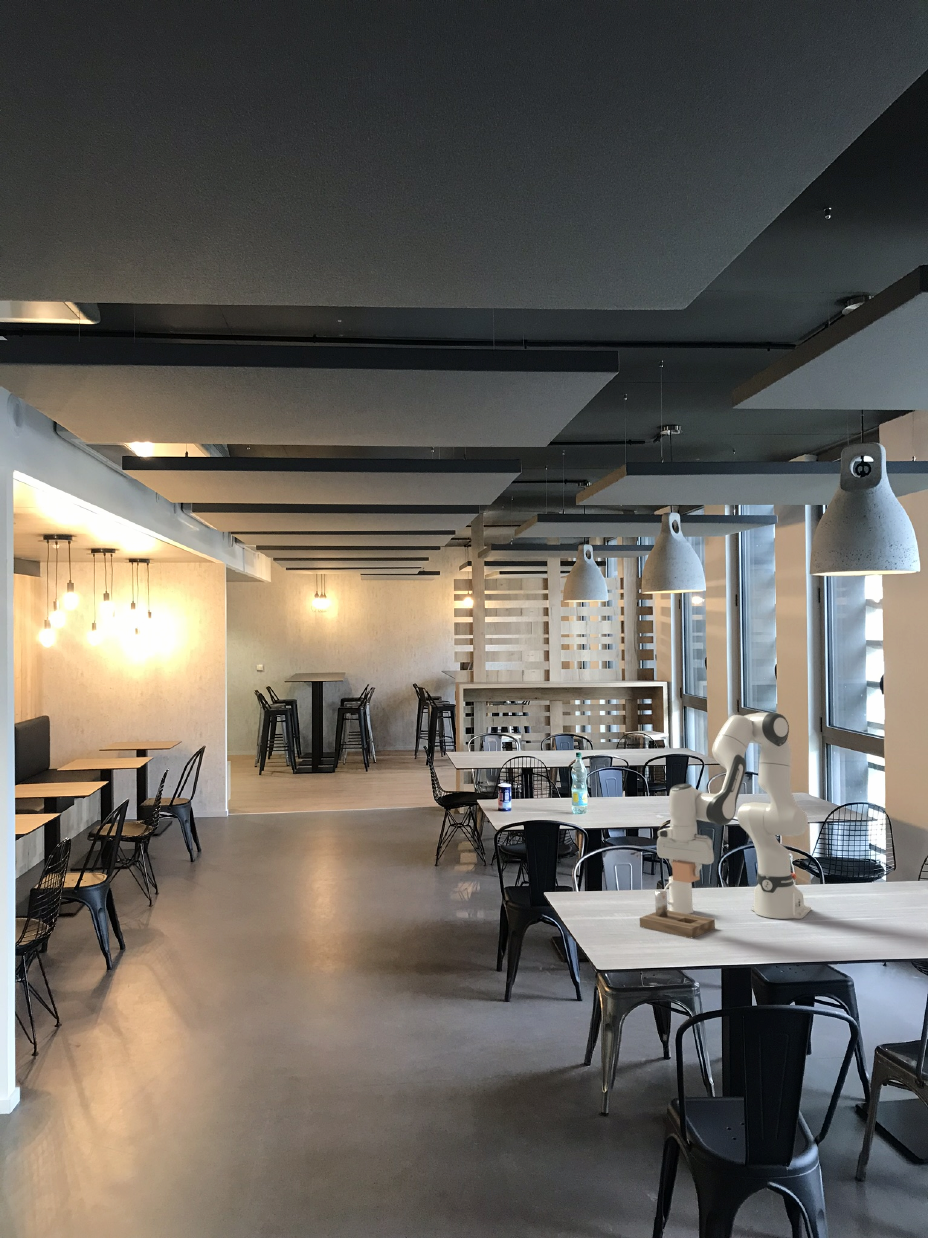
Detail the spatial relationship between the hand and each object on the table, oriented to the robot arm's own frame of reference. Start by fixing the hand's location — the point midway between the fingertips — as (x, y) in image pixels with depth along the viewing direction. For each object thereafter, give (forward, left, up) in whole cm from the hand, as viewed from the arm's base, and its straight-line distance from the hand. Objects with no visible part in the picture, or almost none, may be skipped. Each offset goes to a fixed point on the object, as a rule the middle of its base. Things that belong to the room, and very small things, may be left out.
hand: (686, 874), depth 289 cm
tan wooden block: (0, 0, -2) cm, 2 cm away
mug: (-18, -15, -19) cm, 30 cm away
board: (0, -4, -18) cm, 19 cm away
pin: (0, -10, -15) cm, 18 cm away
